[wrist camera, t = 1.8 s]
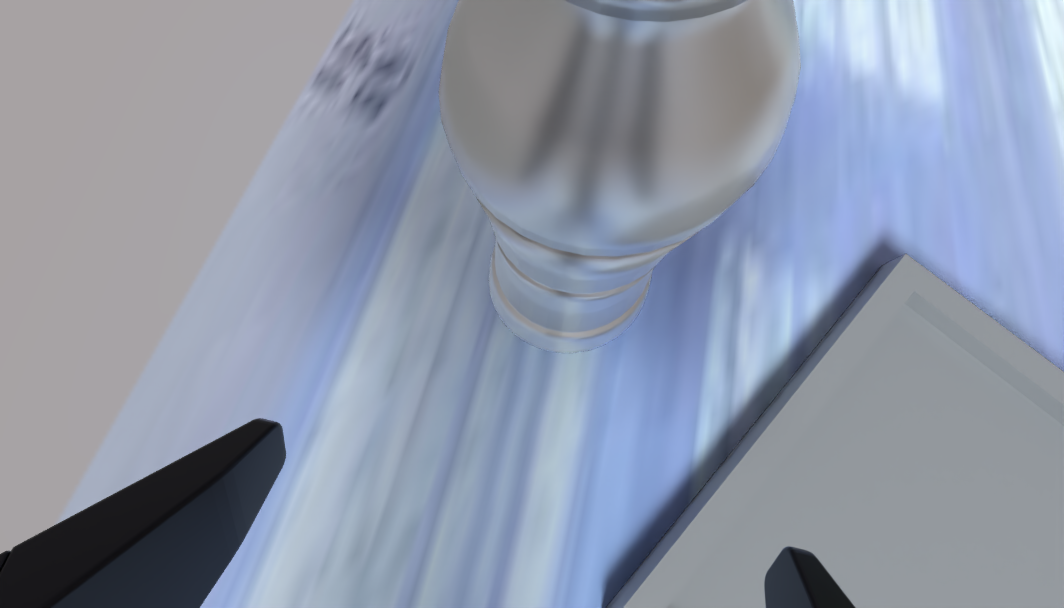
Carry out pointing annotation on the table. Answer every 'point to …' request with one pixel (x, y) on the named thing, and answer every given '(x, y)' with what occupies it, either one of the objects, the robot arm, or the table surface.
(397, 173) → the table surface
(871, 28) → the table surface
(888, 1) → the table surface
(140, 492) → the robot arm
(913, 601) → the tray
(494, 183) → the plastic bottle
